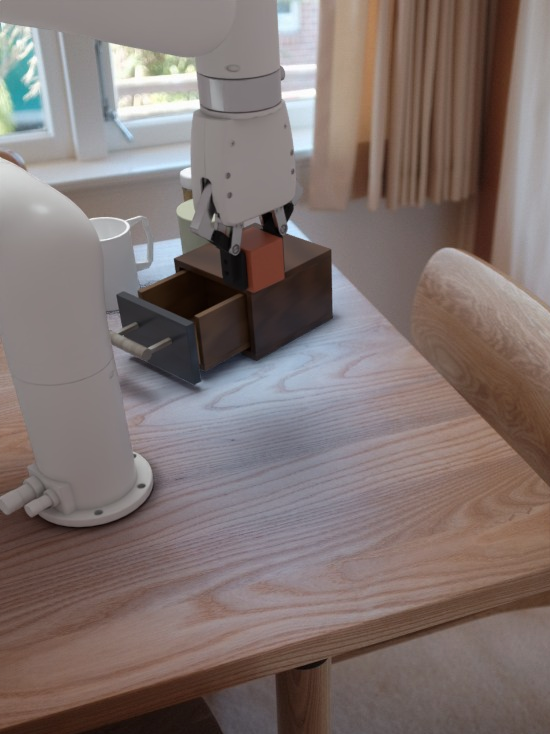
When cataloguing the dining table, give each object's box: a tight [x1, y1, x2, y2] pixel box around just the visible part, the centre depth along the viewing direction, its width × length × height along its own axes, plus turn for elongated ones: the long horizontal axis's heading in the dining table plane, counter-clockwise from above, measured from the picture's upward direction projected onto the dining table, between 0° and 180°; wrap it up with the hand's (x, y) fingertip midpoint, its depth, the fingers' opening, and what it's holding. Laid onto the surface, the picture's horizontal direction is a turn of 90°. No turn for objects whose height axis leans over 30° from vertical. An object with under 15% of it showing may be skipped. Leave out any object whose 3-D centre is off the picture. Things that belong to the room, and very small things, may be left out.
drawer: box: [109, 269, 251, 386], centre depth 112 cm, size 18×13×8 cm
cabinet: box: [173, 222, 334, 362], centre depth 119 cm, size 15×14×10 cm
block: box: [240, 227, 284, 293], centre depth 93 cm, size 4×4×4 cm
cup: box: [88, 215, 154, 312], centre depth 126 cm, size 8×12×10 cm
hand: (254, 276), depth 94 cm, fingers closed on block, 4 cm apart
